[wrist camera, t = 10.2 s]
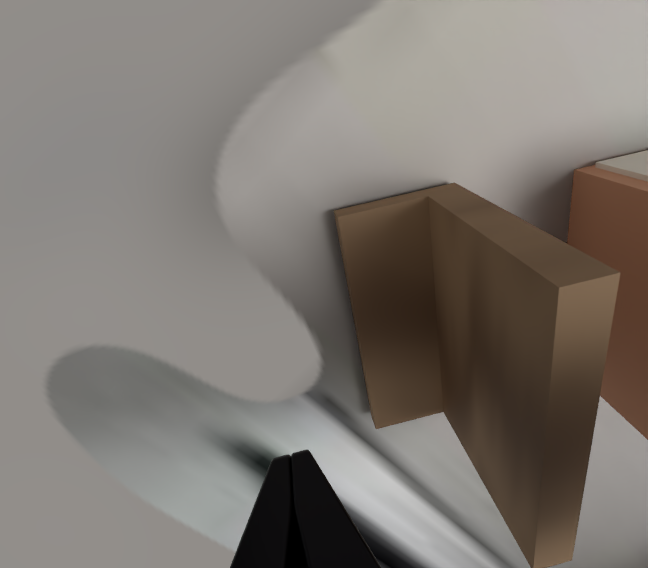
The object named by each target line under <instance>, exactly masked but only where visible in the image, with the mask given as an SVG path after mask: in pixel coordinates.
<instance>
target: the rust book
mask: <svg viewBox="0 0 648 568" xmlns="http://www.w3.org/2000/svg"><path fill="white" fill-rule="evenodd" d="M567 244H569V245H571V246H572V247H574V248H576V249H578V250H580V251H582V252H583V253H585V254H587V255H589V256H591V257H593V258H595V259H596V260H598V261H600V262H602V263H604V264H606V265H607V266H609V267H611V268H613V269H615V270H617V271H619V272H620V279H619V285H618V291H617V297H616V302H615V308H614V314H613V320H612V326H611V332H610V338H609V344H608V350H607V356H606V362H605V368H604V373H603V379H602V385H601V391H600V396H601V397H602V398H603V399H604V400H605V401H607V402H608V403H609V404H610V405H611V406H612V407H613V408H614V409H615V410H616V411H617V412H618V413H619V414H621V415H622V416H623V417H624V418H625V419H626V420H627V421H628V422H629V423H630V424H631V425H632V426H633V427H635V428H636V429H637V430H638V431H639V432H640V433H641V434H642V435H643V436H644V437H645V438H646V439H648V150H646V151H642V152H638V153H634V154H629V155H625V156H621V157H616V158H612V159H608V160H603V161H599V162H596V165H592V166H588V167H584V168H579V169H575V170H574V177H573V187H572V198H571V208H570V218H569V228H568V238H567Z"/></svg>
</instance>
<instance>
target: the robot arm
mask: <svg viewBox="0 0 648 568" xmlns="http://www.w3.org/2000/svg"><path fill="white" fill-rule="evenodd" d="M230 568H381V567H380V565H379V563H378V562H377V560H376V558H375V557H374V555H373V553H372V552H371V550H370V549H369V547H368V545H367V544H366V542H365V540H364V539H363V537H362V536H361V534H360V532H359V531H358V529H357V527H356V526H355V524H354V523H353V521H352V519H351V518H350V516H349V514H348V513H347V511H346V509H345V508H344V506H343V505H342V503H341V501H340V500H339V498H338V496H337V495H336V493H335V492H334V490H333V488H332V487H331V485H330V483H329V482H328V480H327V478H326V477H325V475H324V474H323V472H322V470H321V469H320V467H319V465H318V464H317V462H316V461H315V459H314V457H313V456H312V454H311V452H310V451H309V450H303V451H299V452H295V453H293V454H292V455H291V456H290V455H284V456H280V457H276V458H274V459H273V460H272V461H271V463H270V466H269V468H268V471H267V474H266V476H265V479H264V481H263V484H262V486H261V489H260V492H259V494H258V497H257V499H256V502H255V505H254V507H253V510H252V512H251V515H250V517H249V520H248V523H247V525H246V528H245V530H244V533H243V535H242V538H241V541H240V543H239V546H238V548H237V551H236V554H235V556H234V559H233V561H232V564H231V566H230Z"/></svg>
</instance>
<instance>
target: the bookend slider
mask: <svg viewBox="0 0 648 568" xmlns="http://www.w3.org/2000/svg"><path fill="white" fill-rule="evenodd" d="M334 215H335V220H336V226H337V231H338V237H339V242H340V247H341V253H342V258H343V264H344V269H345V275H346V280H347V286H348V291H349V296H350V302H351V307H352V313H353V318H354V324H355V329H356V334H357V340H358V345H359V351H360V356H361V362H362V367H363V372H364V378H365V383H366V389H367V394H368V400H369V405H370V410H371V416H372V419H373V422H374V425H375V428H376V429H379V428H382V427H386V426H390V425H394V424H398V423H402V422H406V421H410V420H413V419H417V418H421V417H425V416H429V415H433V414H437V413H440V412H444V414H445V415H446V417H447V419H448V421H449V422H450V424H451V426H452V428H453V430H454V431H455V433H456V435H457V437H458V438H459V440H460V442H461V444H462V446H463V447H464V449H465V451H466V453H467V454H468V456H469V458H470V460H471V462H472V463H473V465H474V467H475V469H476V470H477V472H478V474H479V476H480V478H481V479H482V481H483V483H484V485H485V486H486V488H487V490H488V492H489V494H490V495H491V497H492V499H493V501H494V503H495V504H496V506H497V508H498V510H499V511H500V513H501V515H502V517H503V519H504V520H505V522H506V524H507V526H508V527H509V529H510V531H511V533H512V535H513V536H514V538H515V540H516V542H517V543H518V545H519V547H520V549H521V551H522V552H523V554H524V556H525V558H526V559H527V561H528V563H529V565H530V567H531V568H546V567H550V566H553V565H557V564H560V563H564V562H567V561H571V560H572V557H573V551H574V545H575V539H576V533H577V527H578V521H579V515H580V510H581V504H582V498H583V492H584V486H585V480H586V474H587V468H588V462H589V456H590V450H591V444H592V439H593V433H594V427H595V421H596V415H597V409H598V403H599V397H600V391H601V385H602V379H603V373H604V368H605V362H606V356H607V350H608V344H609V338H610V332H611V326H612V320H613V314H614V308H615V302H616V297H617V291H618V285H619V279H620V272H619V271H617V270H615V269H613V268H611V267H609V266H607V265H606V264H604V263H602V262H600V261H598V260H596V259H595V258H593V257H591V256H589V255H587V254H585V253H583V252H582V251H580V250H578V249H576V248H574V247H572V246H571V245H569V244H567V243H565V242H563V241H561V240H559V239H558V238H556V237H554V236H552V235H550V234H548V233H547V232H545V231H543V230H541V229H539V228H537V227H535V226H534V225H532V224H530V223H528V222H526V221H524V220H522V219H521V218H519V217H517V216H515V215H513V214H511V213H510V212H508V211H506V210H504V209H502V208H500V207H498V206H497V205H495V204H493V203H491V202H489V201H487V200H486V199H484V198H482V197H480V196H478V195H476V194H474V193H473V192H471V191H469V190H467V189H465V188H463V187H462V186H460V185H458V184H456V183H451V184H447V185H442V186H438V187H434V188H429V189H425V190H421V191H416V192H412V193H408V194H403V195H399V196H395V197H391V198H386V199H382V200H378V201H373V202H369V203H365V204H360V205H356V206H352V207H347V208H343V209H339V210H335V211H334Z"/></svg>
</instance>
